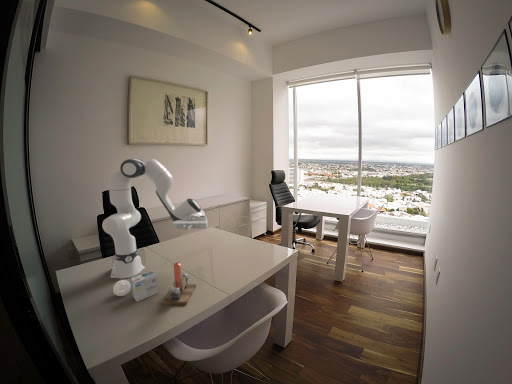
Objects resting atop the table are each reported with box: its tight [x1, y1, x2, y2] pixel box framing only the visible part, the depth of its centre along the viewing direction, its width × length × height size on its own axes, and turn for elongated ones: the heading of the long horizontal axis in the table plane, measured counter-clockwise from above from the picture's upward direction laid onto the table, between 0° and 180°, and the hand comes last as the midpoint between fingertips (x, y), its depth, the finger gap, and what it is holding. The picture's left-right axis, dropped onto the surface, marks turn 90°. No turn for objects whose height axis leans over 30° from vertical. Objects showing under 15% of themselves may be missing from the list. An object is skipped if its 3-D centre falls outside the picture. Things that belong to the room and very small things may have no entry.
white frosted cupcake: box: [112, 279, 132, 297], centre depth 120 cm, size 8×8×8 cm
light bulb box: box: [130, 270, 158, 303], centre depth 119 cm, size 11×7×11 cm, turn 134°
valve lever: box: [173, 262, 182, 288], centre depth 112 cm, size 3×13×13 cm, turn 17°
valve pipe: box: [168, 272, 189, 300], centre depth 118 cm, size 14×5×7 cm, turn 178°
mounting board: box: [161, 283, 197, 306], centre depth 119 cm, size 16×12×2 cm
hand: (185, 228), depth 126 cm, fingers closed
